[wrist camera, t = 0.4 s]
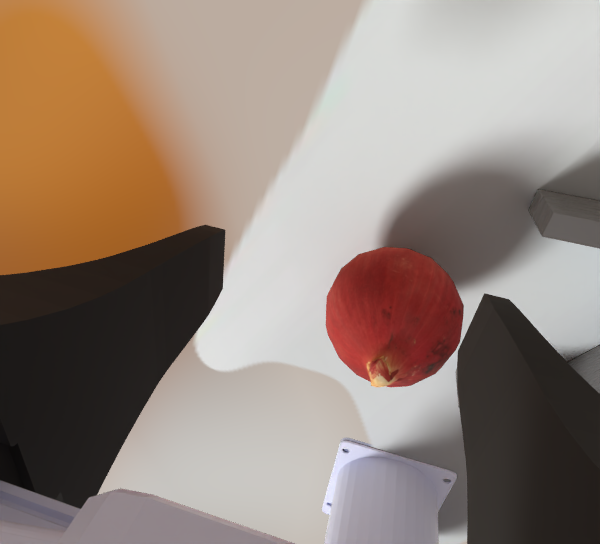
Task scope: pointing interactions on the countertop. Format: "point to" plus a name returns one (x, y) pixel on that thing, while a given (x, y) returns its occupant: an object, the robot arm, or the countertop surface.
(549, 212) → the split collar
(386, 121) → the countertop surface
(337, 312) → the onion
